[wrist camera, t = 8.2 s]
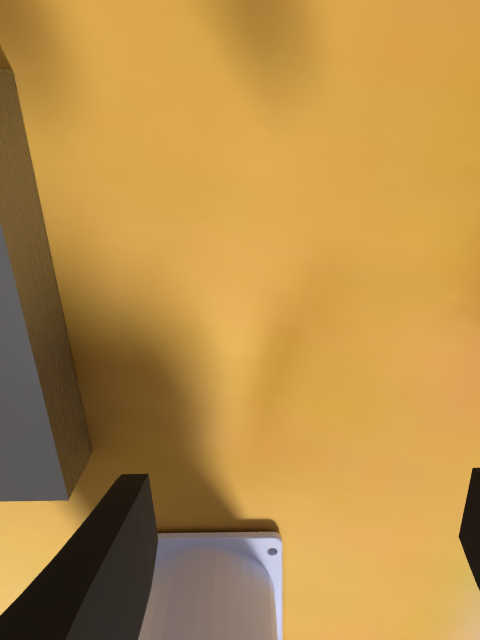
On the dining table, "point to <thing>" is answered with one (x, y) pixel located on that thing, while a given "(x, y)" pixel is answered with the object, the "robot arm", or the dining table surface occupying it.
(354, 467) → the dining table surface
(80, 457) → the gray block with hole
